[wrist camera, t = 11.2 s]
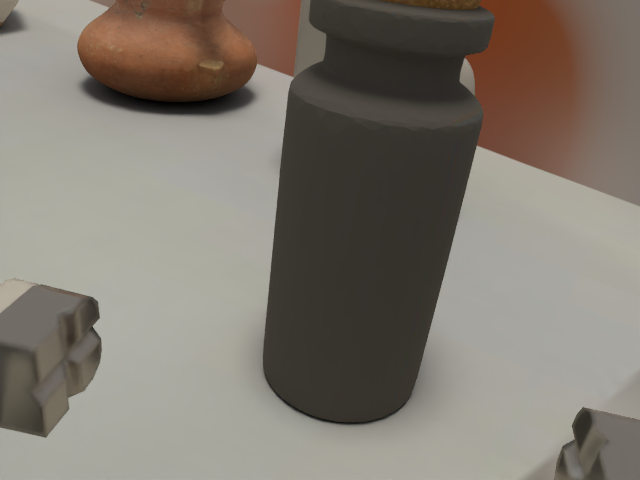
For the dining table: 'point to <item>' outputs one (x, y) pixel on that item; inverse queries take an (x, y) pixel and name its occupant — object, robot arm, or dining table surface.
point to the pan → (6, 9)
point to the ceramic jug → (167, 50)
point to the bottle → (369, 201)
